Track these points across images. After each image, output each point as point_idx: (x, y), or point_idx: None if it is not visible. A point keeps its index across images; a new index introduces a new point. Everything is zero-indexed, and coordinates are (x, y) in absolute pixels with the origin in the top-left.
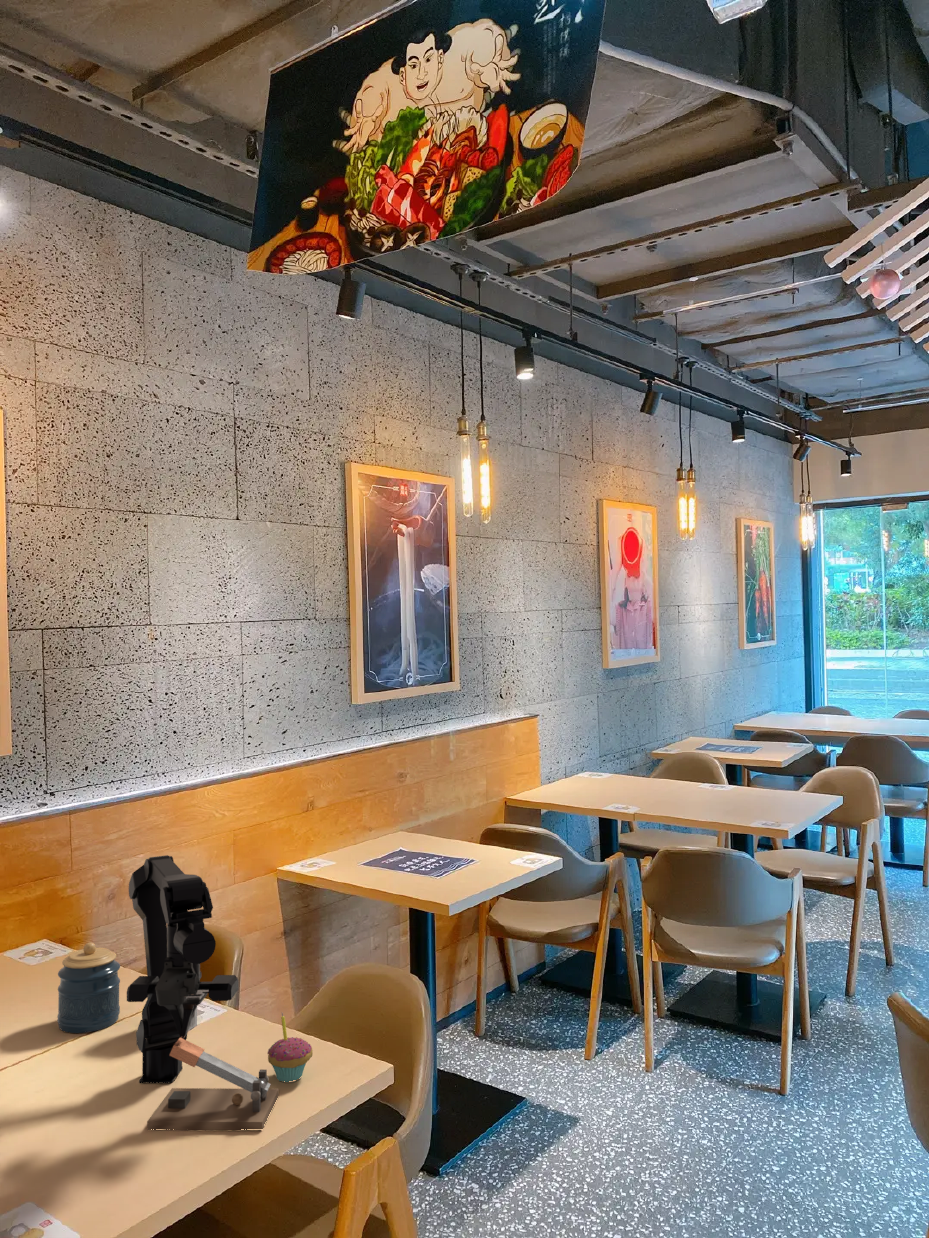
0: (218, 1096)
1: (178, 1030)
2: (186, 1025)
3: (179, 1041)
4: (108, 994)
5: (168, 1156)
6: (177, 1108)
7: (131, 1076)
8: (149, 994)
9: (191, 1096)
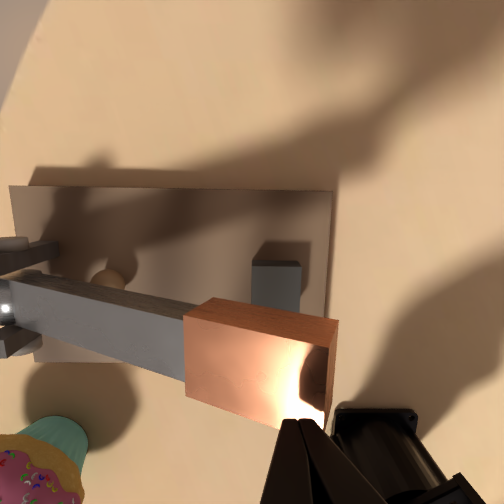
0: None
1: (334, 449)
2: (272, 486)
3: (310, 399)
4: None
5: (228, 55)
6: (271, 260)
7: (439, 440)
8: None
9: None
